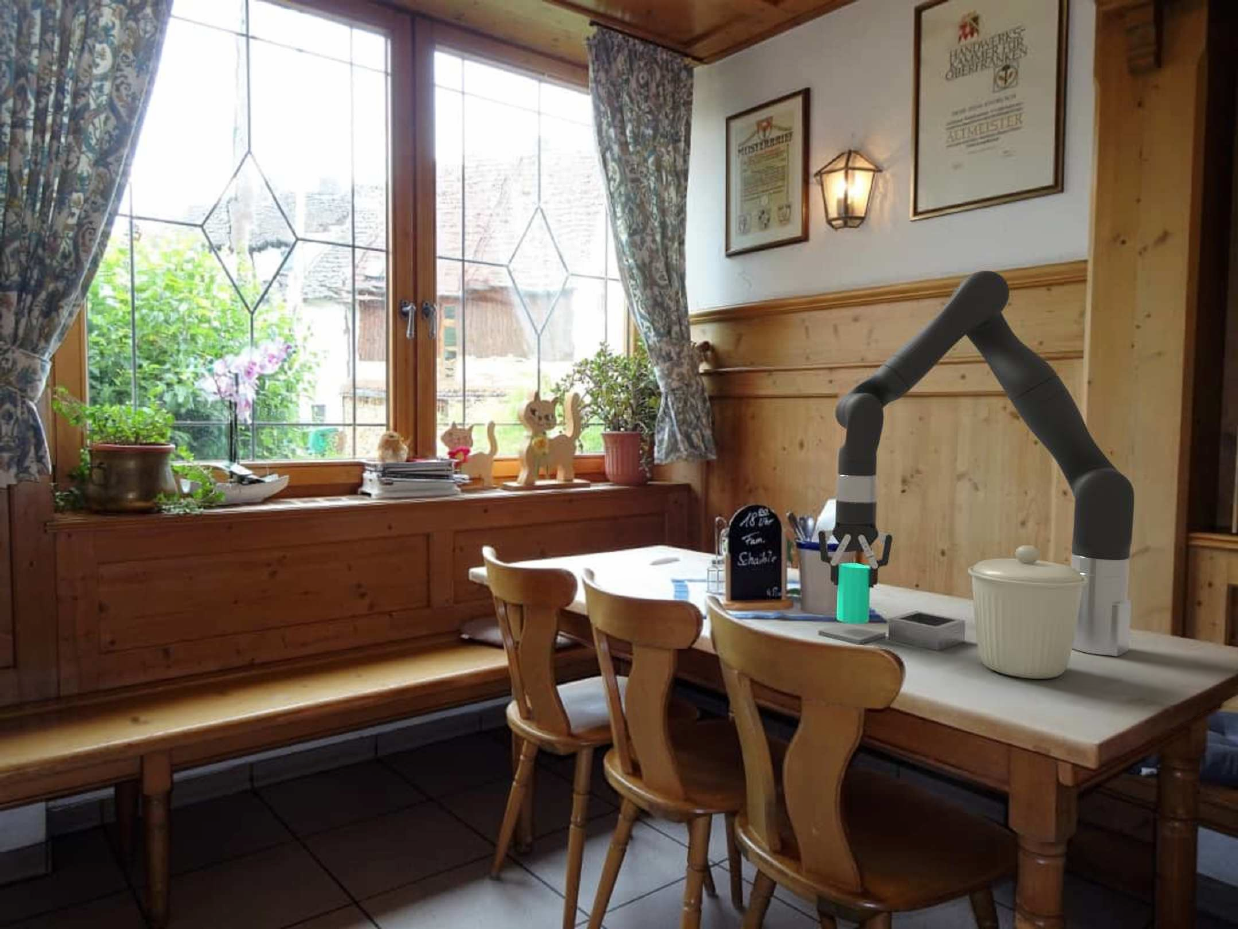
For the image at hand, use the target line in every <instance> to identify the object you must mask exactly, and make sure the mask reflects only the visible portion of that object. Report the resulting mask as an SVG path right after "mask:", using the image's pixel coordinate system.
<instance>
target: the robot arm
mask: <svg viewBox="0 0 1238 929" xmlns="http://www.w3.org/2000/svg"><path fill="white" fill-rule="evenodd" d="M1009 298H1010V288H1009V284H1008V282H1007V281H1006V279H1005V278H1004V277H1003V276H1002V275H1001V274H1000V273H997V272H995V271H991V270H981V271H977V272H976V271H975V272H973V273H970V275H968V276H967V277H965V278H964V279H963V280H962V281H961V282H960V284H959V285H958V286H957V287H956V288H955V289H954V291H953V292H952V294H951V296H950V299H949V302H948V303H947V304H946V305H945V306H943V308H942V310H940V311H939V313H938V314H937V315H936V316H935V317H934V318H932V320H931V321H929V322H928V324H926V325H925V326H924V327H923V328H921V329H920V331H918V332H917V333H916V334H915V335H914V336H912V337H911V338H910V339H909V340H908V341H906V343H904V344H903V345H902V346H900V348H899V349H897V350H896V351H895V352H894V353H893V354H892V355H890V357H889V358H888V359H886V361H885V362H884V363H883V364H881V365H880V366H879V367H878V368H877V369H876V370H875V371H874V373H872V374H871V375H870V376H869V377H867V378H865V379H863V380H862V381H861V382H860V383H858V384H856V386H854V387H853V388H852V389H850V390H849V391H848V392H847V393H845V394H844V395H843V396H842V397H841V398H840V400H839V401H838V403H837V404H836V408H835V410H834V414H835V419H836V421H837V423H838V424H839V425H840V426H841V427H842V428H845V430H846V432H845V433H846V434H845V440H844V444H842V446H841V447H840V448H839V451H838V464H837V465H838V469H837V481H836V487H835V490H836V491H835V521H834V522H835V523H834V527H833V529H828V530H825V529H820V530H819V531H818V534H817V536H818V544H819V552H820V553H819V554H820V561H822V562H823V563H826V564H828V565H829V566H830V578H829V580H830V582H831V583H833V585H834V586H838V566H839V565H840V564H839V560H840V559H841V557H842V555H843V554H844V552H850V553H851V552H856V553H864V554H865V555H866V558H867V559H868V562H869V565H870V589H871V588H872V589H874V587H875V586H877V584H878V580H879V568H881V567H887V566H888V564H889V560H890V553H891V549H892V543H893V537H894V536H893V534H892V533H891V532H890V533H889V532H888V533H884V532H879V530H878V528H877V508H878V507H877V506H878V483H877V465H878V464H877V461H878V460H877V459H878V458H877V455H878V454H877V452H878V448H879V445H880V442H881V436H882V432H883V427H884V420H885V419H884V418H885V415H884V408H885V407H886V406H887V405H889V404H890V403H892V402H895V401H897V400H900V399H901V398H902V397H904V396H905V395H906V394H907V393H908V392H909V391H911V389H913V388H914V387H915V386H916V385H917V384H918V383H919V382H920V381H921V380H922V379H923V378H924V377H925V376H926V375H928V374H929V372H930V371H931V370H932V369H933V368H934V367H935V366H936V365H937V363H939V362H940V360H941V359H942V358H943V357H944V356H945V355H946V354H947V353H948V352H949V351H950V350H951V349H952V348H953V347H954V346H955V345H956V344H957V343H959V341H960V340H961V339H963V338H964V337H965V336H966V337H967V339H969V340H968V341H970V342H971V343H972V344H973V346H974V347H975V349H976V350H977V351H978V352H979V354H980V355H981V356H982V357H983V360H984V361H985V362H986V364H987V365H988V368H990V371H991V372H992V373H993V375H994V378H996V380H997V382H998V383H999V385H1000V386H1001V388H1002V389H1003V391H1004V393H1005V395H1006V396H1007V398H1008V400H1009V401H1010V402H1011V404H1012V406H1013V407H1014V409H1015V410H1016V412H1017V414H1018V415H1019V416H1020V418H1021V419H1022V421H1023V422H1024V423H1025V425H1026V426H1027V427H1028V428H1029V430H1030V431H1031V433H1032V434H1033V435H1034V436H1035V437H1036V438H1037V440H1038V441H1039V442H1040V443H1041V444H1042V445H1043V446H1044V447H1045V448H1046V449H1047V451H1048V452H1049V453H1050V454H1051V456H1052V457H1053V459H1054V460H1055V461H1056V464H1057V465H1058V466H1059V468H1060V470H1061V472H1062V474H1063V476H1064V478H1065V479H1066V481H1067V483H1068V485H1069V488H1070V489H1071V492H1072V495H1073V497H1074V512H1073V531H1072V540H1071V541H1072V542H1071V556H1070V557H1071V561H1070V562H1071V563H1070V567H1071V568H1073V569H1075V570H1077V571H1078V572H1079V573H1080V574H1081V575H1084V576H1086V577H1087V578H1088V582H1087V583H1086V584H1085V585H1083V589H1082V595H1081V602H1080V607H1079V613H1078V619H1077V625H1076V631H1075V636H1074V641H1073V646H1072V650H1076V651H1079V652H1083V653H1086V654H1087V653H1088V654H1094V655H1102V656H1103V655H1104V656H1113V657H1119V656H1121V655H1123V654H1125V653H1126V652H1129V651H1130V635H1131V634H1130V633H1131V616H1132V615H1131V614H1132V613H1131V612H1132V599H1130V598H1128V593H1129V592H1128V591H1129V573H1130V572H1129V571H1130V554H1131V553H1130V552H1131V547H1132V543H1133V542H1132V540H1133V528H1134V515H1135V514H1134V513H1135V491H1134V487H1133V484H1132V482H1130V480H1129V479H1128V478H1127V476H1125V475H1124V474H1122V473H1121V471H1119V470H1118V469H1117V468H1116V467H1115V466H1114V465H1113V463H1112V462H1111V460H1109V459H1108V458H1107V456H1106V455H1105V453H1104V452H1103V450H1101V449H1100V447H1099V446H1098V444H1097V443H1096V442H1095V440H1094V439H1093V437H1092V436H1091V434H1090V431H1089V430H1088V427H1087V425H1086V423H1085V420H1084V419H1083V416H1082V414H1081V412H1080V409H1079V407H1078V406H1077V404H1076V402H1075V400H1074V398H1073V396H1072V395H1071V393H1070V391H1069V390H1068V388H1067V387H1066V385H1065V384H1064V382H1063V380H1062V379H1061V378H1060V376H1059V375H1058V373H1057V372H1056V370H1055V369H1054V367H1053V366H1051V364H1050V363H1048V361H1046V360H1045V359H1044V358H1043V357H1042V356H1041V355H1039V354H1038V353H1036V351H1034V350H1032V349H1030V347H1028V346H1027V345H1026V344H1025V343H1024V342H1023V341H1021V340H1020V339H1019V338H1018V337H1017V335H1016V334H1015V333H1014V332H1013V330H1012V328H1011V327H1010V325H1009V324H1008V322H1007V320H1006V319H1005V317H1004V315H1003V313H1002V312H1003V311H1004V310H1005V308H1006V307H1007V304H1008V302H1009V300H1010V299H1009ZM832 536H833V537H834V539H835V541H836V542H837V543H838V547H837V549H836V551H835V552H834V554H833V556H831V555H829V550H828V542H829V541H830V540H831V537H832ZM877 539H879V540H880V544H881V545H882V546H883V550H882V556H881V558H879V559H877V557H876V555H875V552H874V549H873V548H872V545H873V544H874V543H875V541H877Z"/></svg>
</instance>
